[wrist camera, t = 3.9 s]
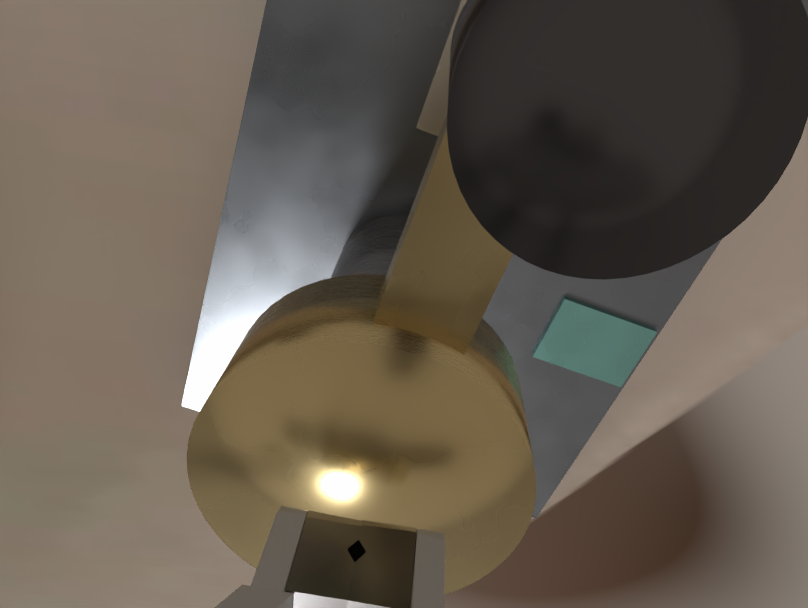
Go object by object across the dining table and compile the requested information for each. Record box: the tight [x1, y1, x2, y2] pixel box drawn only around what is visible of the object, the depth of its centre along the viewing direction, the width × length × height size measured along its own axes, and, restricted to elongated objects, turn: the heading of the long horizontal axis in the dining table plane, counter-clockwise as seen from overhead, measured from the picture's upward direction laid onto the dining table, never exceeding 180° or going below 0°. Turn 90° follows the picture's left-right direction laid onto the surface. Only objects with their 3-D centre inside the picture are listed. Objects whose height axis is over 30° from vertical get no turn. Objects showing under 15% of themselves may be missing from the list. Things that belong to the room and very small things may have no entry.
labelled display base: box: [182, 0, 808, 518], centre depth 17 cm, size 22×16×8 cm
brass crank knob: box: [187, 0, 808, 595], centre depth 10 cm, size 13×7×7 cm, turn 161°
